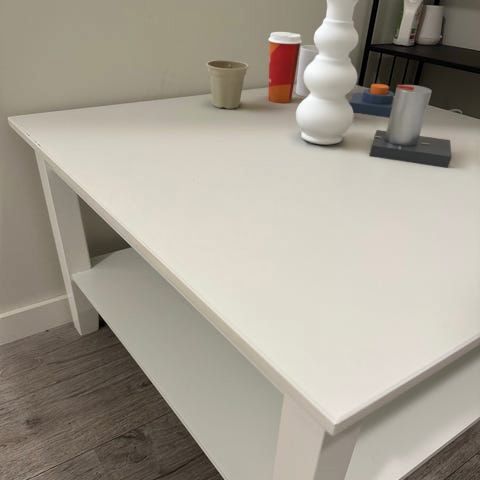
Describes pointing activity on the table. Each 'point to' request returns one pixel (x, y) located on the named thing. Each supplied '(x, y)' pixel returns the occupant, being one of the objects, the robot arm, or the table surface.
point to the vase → (330, 77)
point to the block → (372, 103)
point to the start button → (379, 89)
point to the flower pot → (226, 82)
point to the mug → (305, 59)
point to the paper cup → (282, 65)
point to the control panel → (413, 150)
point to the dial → (407, 114)
